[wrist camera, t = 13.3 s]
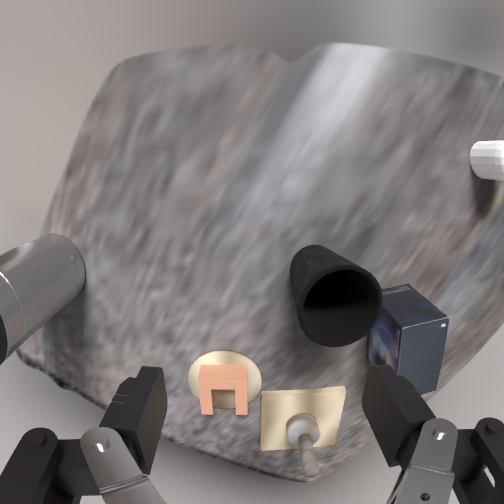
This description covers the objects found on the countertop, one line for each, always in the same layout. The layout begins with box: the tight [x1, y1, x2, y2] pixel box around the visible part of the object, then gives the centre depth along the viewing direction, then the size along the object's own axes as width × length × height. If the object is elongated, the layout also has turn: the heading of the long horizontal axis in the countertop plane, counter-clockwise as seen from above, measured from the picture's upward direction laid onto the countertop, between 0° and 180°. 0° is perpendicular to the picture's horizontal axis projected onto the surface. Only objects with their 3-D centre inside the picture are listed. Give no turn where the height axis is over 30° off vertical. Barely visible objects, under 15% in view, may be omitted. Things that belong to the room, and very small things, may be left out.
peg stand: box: [260, 386, 346, 477], centre depth 39 cm, size 12×12×11 cm
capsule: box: [470, 141, 504, 181], centre depth 31 cm, size 5×5×8 cm
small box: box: [367, 284, 449, 395], centre depth 35 cm, size 11×6×10 cm, turn 8°
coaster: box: [188, 350, 262, 409], centre depth 41 cm, size 10×10×1 cm
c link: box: [198, 364, 247, 415], centre depth 40 cm, size 6×6×4 cm
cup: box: [291, 245, 383, 347], centre depth 32 cm, size 8×8×12 cm
